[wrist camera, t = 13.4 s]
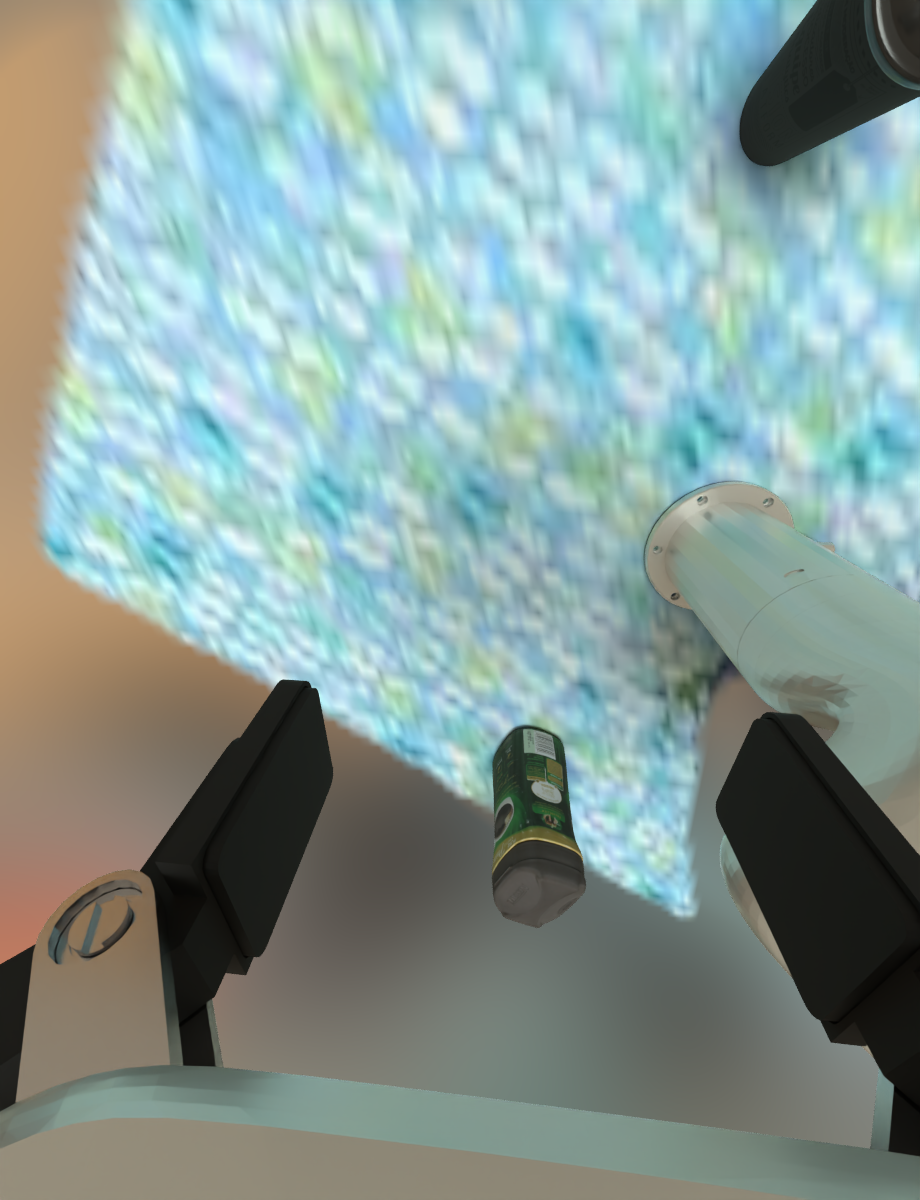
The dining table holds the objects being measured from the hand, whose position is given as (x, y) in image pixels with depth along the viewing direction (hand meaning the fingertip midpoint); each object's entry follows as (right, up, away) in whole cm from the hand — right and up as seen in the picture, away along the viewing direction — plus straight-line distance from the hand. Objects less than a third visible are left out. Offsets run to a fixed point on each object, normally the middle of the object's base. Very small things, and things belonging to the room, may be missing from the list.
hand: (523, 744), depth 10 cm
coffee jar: (+7, -16, +47) cm, 50 cm away
